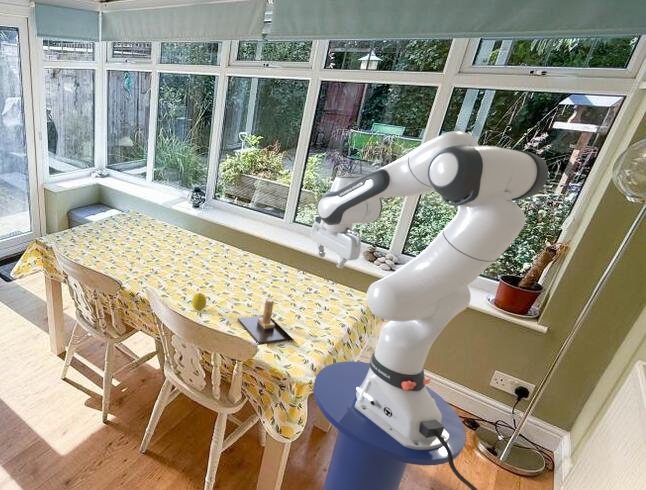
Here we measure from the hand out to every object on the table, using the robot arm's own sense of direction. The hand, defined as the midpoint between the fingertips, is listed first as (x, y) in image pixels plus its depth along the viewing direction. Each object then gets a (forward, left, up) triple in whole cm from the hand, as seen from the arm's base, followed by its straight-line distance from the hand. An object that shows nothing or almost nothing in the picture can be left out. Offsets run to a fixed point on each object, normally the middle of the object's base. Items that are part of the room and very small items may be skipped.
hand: (330, 261), depth 141 cm
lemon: (+24, +36, -29) cm, 52 cm away
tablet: (+6, +14, -29) cm, 33 cm away
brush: (+6, +17, -28) cm, 33 cm away
